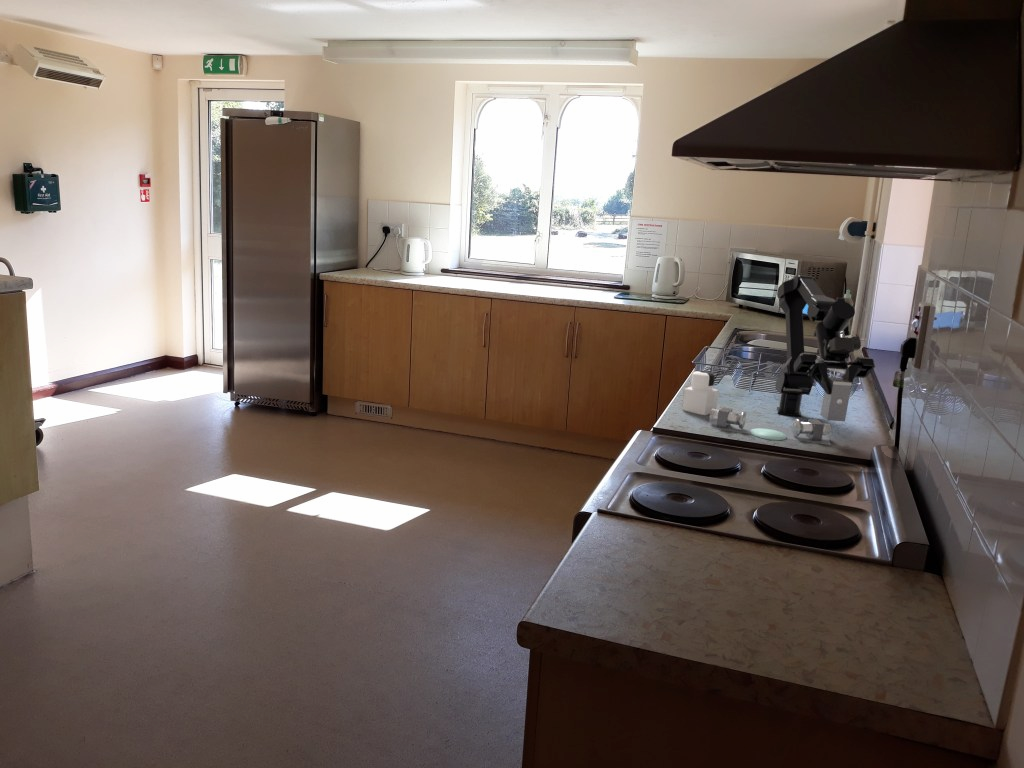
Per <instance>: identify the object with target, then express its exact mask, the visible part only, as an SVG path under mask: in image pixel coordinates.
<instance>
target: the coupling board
mask: <svg viewBox="0 0 1024 768" xmlns="http://www.w3.org/2000/svg"><path fill="white" fill-rule="evenodd" d="M707 425H708V426H707V428H708V429H710V430H711V429H712V430H718V431H725V432H726V431H727V432H732V433H733V432H735V433H739V434H740V433H741V434H748V435H752V436H754V437H756V438H760V439H764V440H770V441H783V440H791V441H798V442H805V443H812V444H813V443H814V444H819V445H828V446H831V445H832V444H831V442H830V440H829V436H825V435H822V441H812V440H811V439H809V438H808V437H807V436H806V434H799V436H794V435H793V432H792V428H790V427H782V426H777V425H776V426H775V425H768V424H762V423H753V422H745V425H744V428H743V429H740V428H739V425H734V424H730V426H728V427H727V428H726V429H724V428H719V427H716V426H717V421H714V420H710V417H708V424H707Z"/></svg>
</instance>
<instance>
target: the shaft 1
mask: <svg viewBox="0 0 1024 768" xmlns="http://www.w3.org/2000/svg"><path fill="white" fill-rule="evenodd" d="M709 418H710V420H714V421H717V426H716V427H719V428H724V429H726V428H727V427H728V426H730V424H734V425H739V428H740V429H743V428H744V425H745V422H746V421H747V412H745V411H742V412H741V413H738V412H737V413H736V412H733V408H730V407H725V406H723V407H721V408H720V409H717V408H716V409H712V410H711V412H710V414H709ZM746 423H747V422H746Z"/></svg>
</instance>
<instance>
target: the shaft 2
mask: <svg viewBox="0 0 1024 768" xmlns="http://www.w3.org/2000/svg"><path fill="white" fill-rule="evenodd" d="M791 427H792V428H791V429H792V432H793V435H794V436H799V434H806V436H807V437H808V438H809V439H811V440H812V441H822V435H825V436H828V437H830V435H831V432H832V427H831V424H830V423H823V422H821V421H820V420H819V419H817V418H808V419H807V422H806V421H801V420H800V418H795V419H793V421H792V425H791Z"/></svg>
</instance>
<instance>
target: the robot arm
mask: <svg viewBox="0 0 1024 768" xmlns="http://www.w3.org/2000/svg"><path fill="white" fill-rule="evenodd" d="M776 292H777V293H776V295H777V296H776V297H777V299H778V303H779V305H778V306H779V308H781V310H782V312H784V314H785V336H786V362H785V363H784V365H783V367H782V368H781V373H780V375H779V376H778V378H777V379H776V381H775V387H774V389H775V390H776V391H777V392H778V393H780V399H779V404H778V405H779V406H777V407H776V411H777V414H779V415H787V416H791V417H792V416H793V417H802V412H801V405H802V398H803V395H806V396H809V395H810V394H811V391H812V389H813V386H814V382H815V381H816V383H817V384H818V385H819V386H820V387H821V388H822V389H823V392H824V391H825V392H826V393H827V394H830V393H831V390H830V383H829V379H828V377H829V376H828V375H829V374H828V369H829V370H842V371H843V375H842V376H841V378H845V379H847V380H849V381H850V382H852V384H853V382H854V380H855V378H861V379H864V378H867V377H868V376H869V375H870V374H871V373H872V371H873V370H874V369H875V367H876V363H875V360H874V359H873V358H872V357H865V356H864V357H863V356H857V357H856V358H855V360H854V361H848V360H847V361H846V359H849V357H850V353H853V352H855V351H858V350H860V349H861V347H862V342H861V337H860V336H851V337H843V336H841V332H842V331H844V330H845V329H846V328H847V326H848V325H849V323H850V321H852V319H853V318H854V316H855V314H856V310H855V308H854V307H853V306H852V304H850V303H849V302H847V301H846V299H845V298H844V297H836V299H834V298H831V297H829V296H827V295H825V293H823V291H822V289H821V288H820V286H819V285H818V284H817V283H816V278H815V277H814V276H811V275H801V274H798V275H795V276H794V277H793V278H791V279H788V280H785V281H783V282H782V283H781V284H780V285H779V286H778V287H777V291H776ZM806 306H808V307H807V312H806V313H807V317H808V318H809V321H811V322H814V323H815V322H816V323H817V325H816V326H815V330H814V332H813V336H814V337H816V342H817V346H818V347H817V349H816V353H817V354H816V353H808V352H805V337H804V314H803V312H804V309H805V307H806ZM817 355H819V357H818V356H817ZM852 387H853V385H852V386H851V389H852ZM851 391H852V390H851ZM851 391H850V393H851Z"/></svg>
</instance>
